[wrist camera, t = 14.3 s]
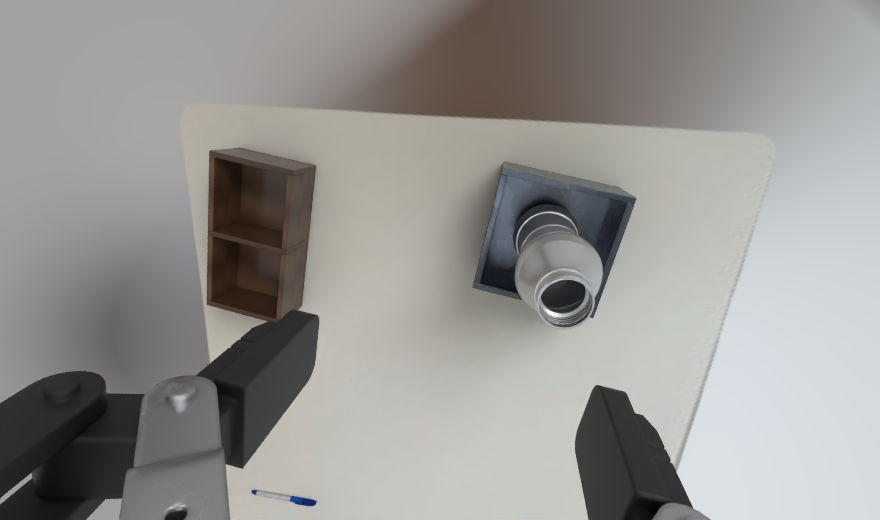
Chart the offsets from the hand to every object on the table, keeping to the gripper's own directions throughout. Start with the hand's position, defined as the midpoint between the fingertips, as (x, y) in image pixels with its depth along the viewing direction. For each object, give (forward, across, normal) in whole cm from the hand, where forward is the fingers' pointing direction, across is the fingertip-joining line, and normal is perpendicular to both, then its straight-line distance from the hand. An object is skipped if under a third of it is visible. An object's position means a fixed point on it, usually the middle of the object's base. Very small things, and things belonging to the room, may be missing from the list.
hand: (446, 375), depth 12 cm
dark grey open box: (+36, -7, +4) cm, 37 cm away
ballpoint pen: (+36, +20, +54) cm, 68 cm away
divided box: (+36, +25, +11) cm, 46 cm away
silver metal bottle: (+36, -6, +4) cm, 36 cm away
